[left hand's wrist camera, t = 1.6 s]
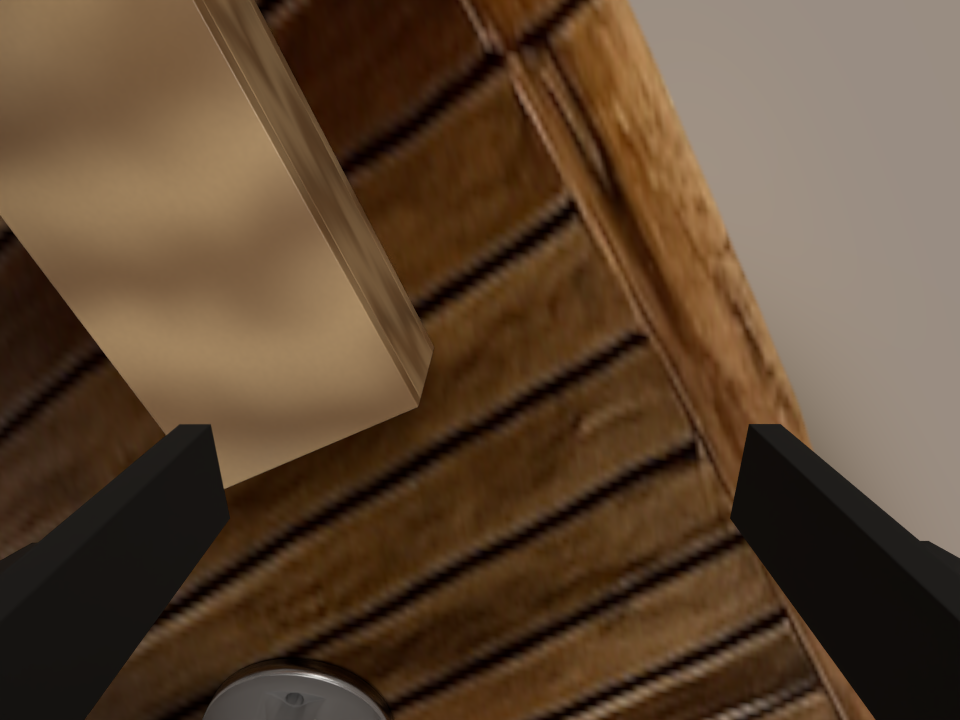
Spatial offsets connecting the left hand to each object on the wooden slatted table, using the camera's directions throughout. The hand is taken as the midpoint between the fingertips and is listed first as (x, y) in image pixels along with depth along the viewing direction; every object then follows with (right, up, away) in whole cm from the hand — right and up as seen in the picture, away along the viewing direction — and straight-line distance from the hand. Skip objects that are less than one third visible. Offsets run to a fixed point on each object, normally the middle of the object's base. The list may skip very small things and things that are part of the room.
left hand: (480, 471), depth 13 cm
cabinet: (-12, +10, +16) cm, 23 cm away
